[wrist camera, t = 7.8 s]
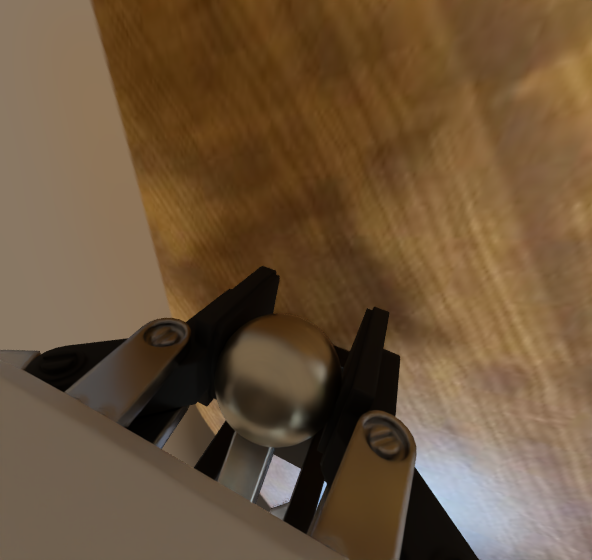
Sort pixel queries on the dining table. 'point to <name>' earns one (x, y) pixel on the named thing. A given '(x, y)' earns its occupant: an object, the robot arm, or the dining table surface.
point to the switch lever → (273, 393)
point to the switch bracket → (298, 455)
